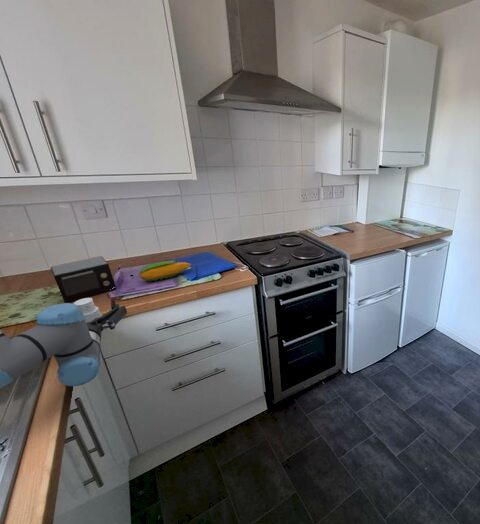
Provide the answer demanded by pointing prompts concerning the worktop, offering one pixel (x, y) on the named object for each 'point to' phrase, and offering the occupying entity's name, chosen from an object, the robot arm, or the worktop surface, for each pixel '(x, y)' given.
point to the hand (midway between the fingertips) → (88, 308)
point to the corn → (162, 270)
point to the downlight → (88, 309)
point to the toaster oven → (83, 278)
